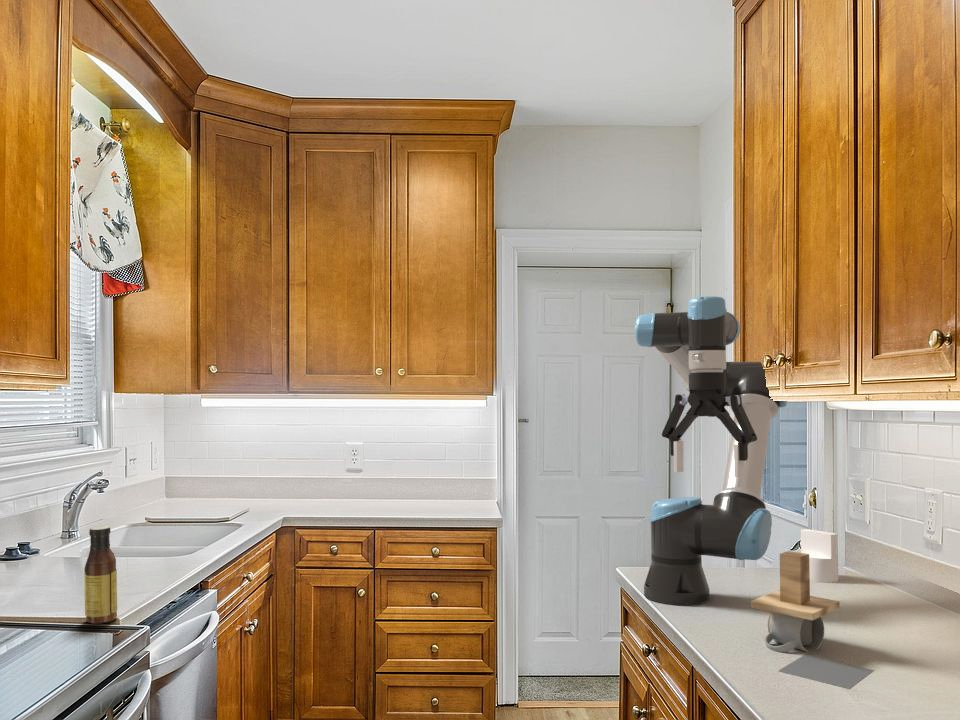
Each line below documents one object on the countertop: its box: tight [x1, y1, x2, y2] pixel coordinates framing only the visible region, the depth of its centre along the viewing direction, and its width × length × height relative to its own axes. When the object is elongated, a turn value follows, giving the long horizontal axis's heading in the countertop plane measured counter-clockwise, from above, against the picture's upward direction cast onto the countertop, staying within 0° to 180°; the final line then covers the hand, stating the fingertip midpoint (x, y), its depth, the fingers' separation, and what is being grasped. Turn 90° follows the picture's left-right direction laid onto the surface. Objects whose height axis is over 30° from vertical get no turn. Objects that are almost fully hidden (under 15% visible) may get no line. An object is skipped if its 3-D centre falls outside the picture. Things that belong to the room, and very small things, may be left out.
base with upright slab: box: [800, 528, 839, 584], centre depth 210 cm, size 9×9×12 cm
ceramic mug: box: [764, 612, 825, 653], centre depth 155 cm, size 11×8×8 cm
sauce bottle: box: [83, 525, 118, 625], centre depth 172 cm, size 6×6×20 cm
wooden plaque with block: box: [750, 550, 841, 620], centre depth 155 cm, size 12×12×10 cm
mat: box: [777, 654, 875, 690], centre depth 141 cm, size 12×12×1 cm
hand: (708, 474), depth 167 cm, fingers open, 13 cm apart
